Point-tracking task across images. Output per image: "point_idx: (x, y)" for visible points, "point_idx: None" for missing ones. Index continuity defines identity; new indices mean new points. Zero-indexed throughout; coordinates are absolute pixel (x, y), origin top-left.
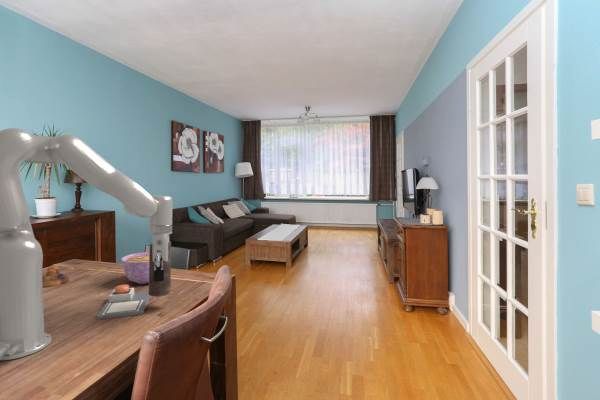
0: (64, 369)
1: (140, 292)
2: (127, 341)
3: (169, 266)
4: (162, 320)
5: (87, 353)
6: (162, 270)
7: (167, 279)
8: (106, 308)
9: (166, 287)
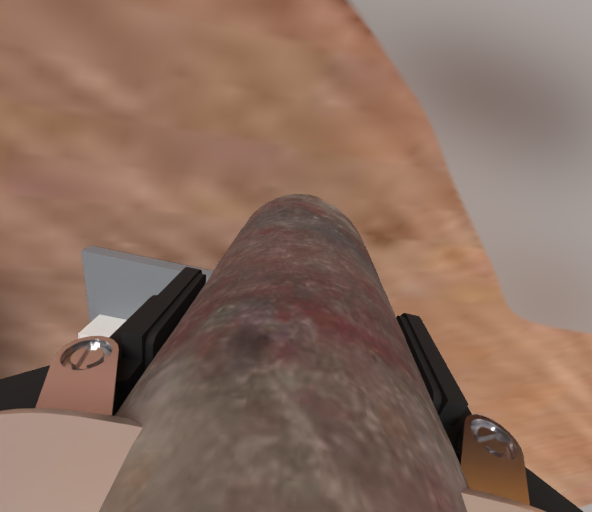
0: (571, 455)
1: (88, 292)
2: (543, 351)
3: (381, 336)
4: (457, 236)
5: (529, 425)
6: (458, 407)
7: (374, 272)
8: None
9: (366, 250)
